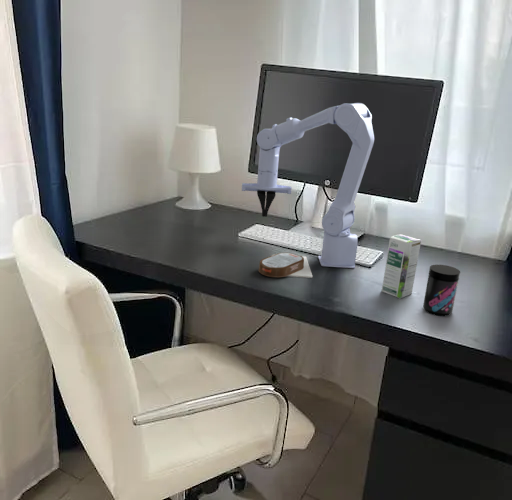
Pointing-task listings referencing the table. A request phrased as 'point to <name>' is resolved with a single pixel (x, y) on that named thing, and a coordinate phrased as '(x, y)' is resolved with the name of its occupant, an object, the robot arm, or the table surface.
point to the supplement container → (441, 290)
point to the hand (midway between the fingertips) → (264, 215)
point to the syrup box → (401, 265)
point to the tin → (281, 265)
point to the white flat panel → (303, 270)
